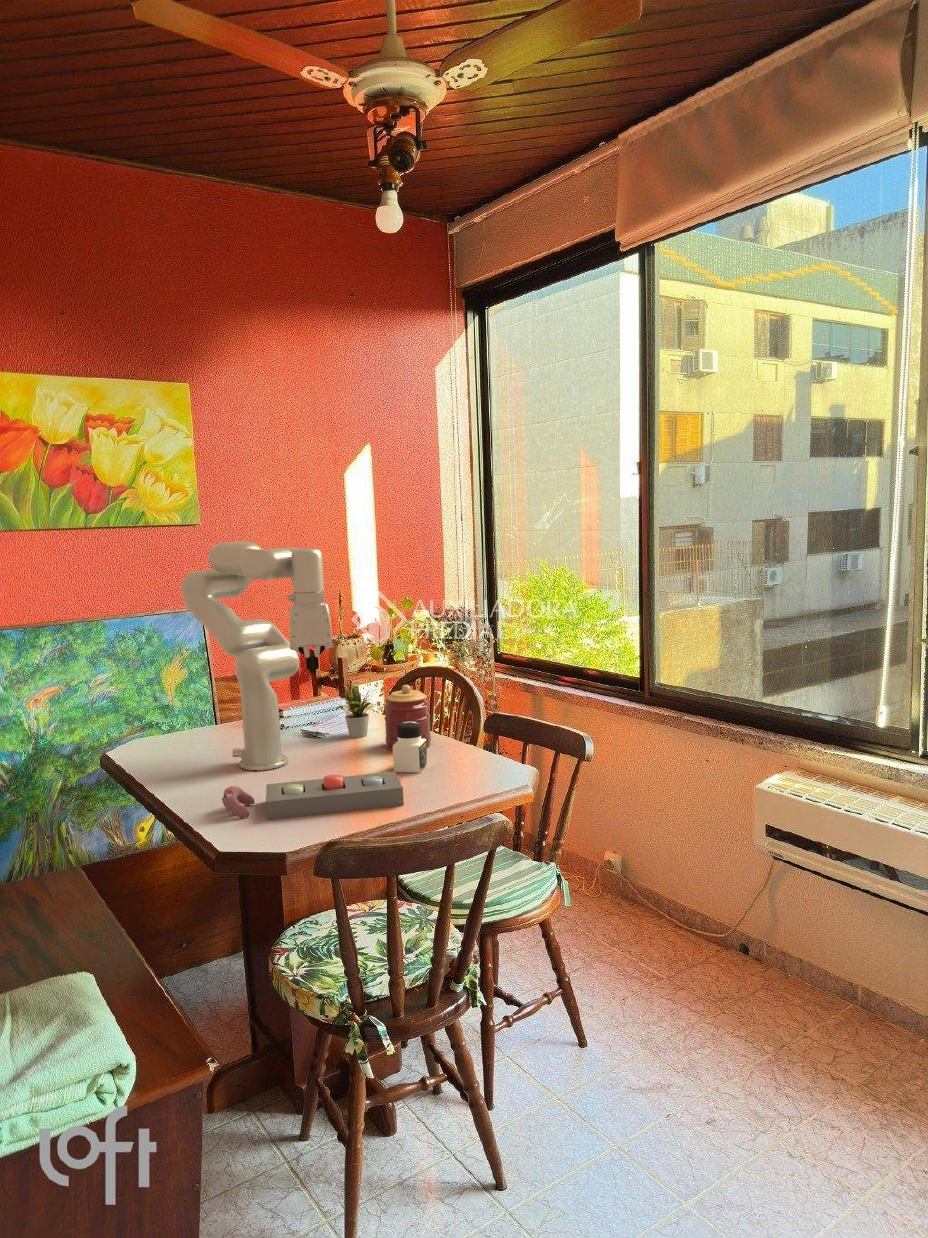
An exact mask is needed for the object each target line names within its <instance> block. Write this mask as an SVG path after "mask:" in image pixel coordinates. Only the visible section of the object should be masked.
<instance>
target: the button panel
mask: <svg viewBox="0 0 928 1238" xmlns="http://www.w3.org/2000/svg"><path fill="white" fill-rule="evenodd" d="M371 776H379V777H382V780H383V784H382V785H372V786H364V785H363V779H364V778H366V777H371ZM292 784H300V785H303V792H304V793H294V794H284V791H283V788H284V787H285V786H287V785H292ZM265 786H266V790H265V793H266V794H265V807H266V820H267V819H269V820H275V819H274V818H278V819H284V818H283V817H287V818H293V817H292V816H296V817H302V816H301V815H306V816H314V815H313V814H315V815H323V814H331V813H341V812H350V811H351V812H352V811H359V810H367V809H368V810H369V809H380V808H388V807H396V806H404V805H405V801H404V787H403V785H402V783H401V781H400V779H399V776H398V775H397V772H394V771H389V772H378V773H369V774H368V773H367V774H357V775H348V776H347V775H346V776H343V789H333V790H324V781H323V778H317V779H308V780H306V779H305V780H296V781H286V782H277V783H269V784H266V785H265Z"/></svg>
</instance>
